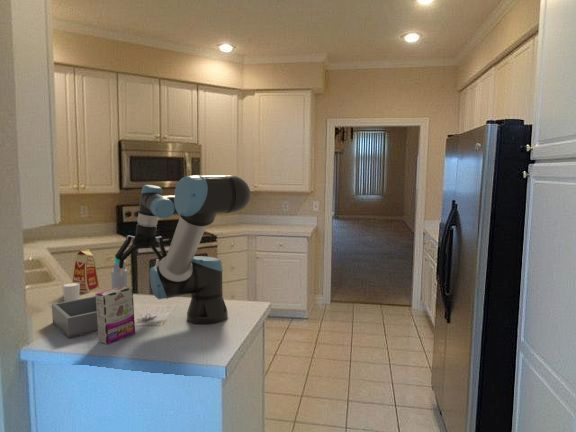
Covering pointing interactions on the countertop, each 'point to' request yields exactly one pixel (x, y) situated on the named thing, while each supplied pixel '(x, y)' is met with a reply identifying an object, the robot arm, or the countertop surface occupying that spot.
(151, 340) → the countertop surface
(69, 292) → the white cylinder
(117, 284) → the spray bottle
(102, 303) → the candy bar box
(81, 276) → the milk carton
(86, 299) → the tote
